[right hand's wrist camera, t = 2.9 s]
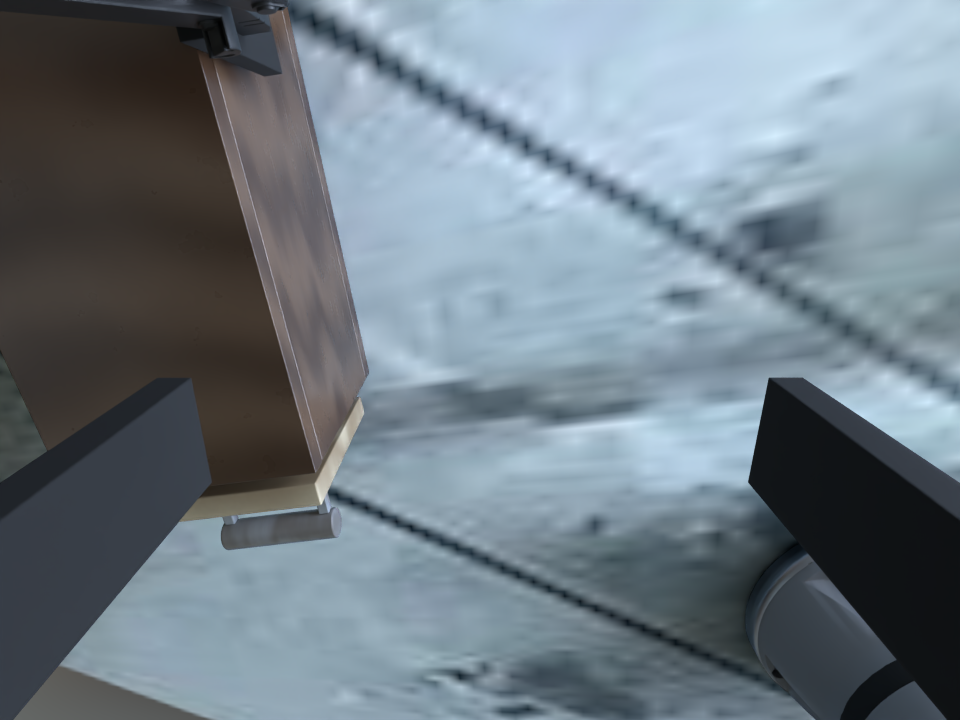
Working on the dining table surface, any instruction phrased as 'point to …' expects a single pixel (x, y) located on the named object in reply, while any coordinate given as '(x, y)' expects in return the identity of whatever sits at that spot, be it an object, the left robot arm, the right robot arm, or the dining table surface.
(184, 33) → the left robot arm
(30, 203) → the cabinet
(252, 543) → the drawer
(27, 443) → the dining table surface
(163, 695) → the dining table surface
